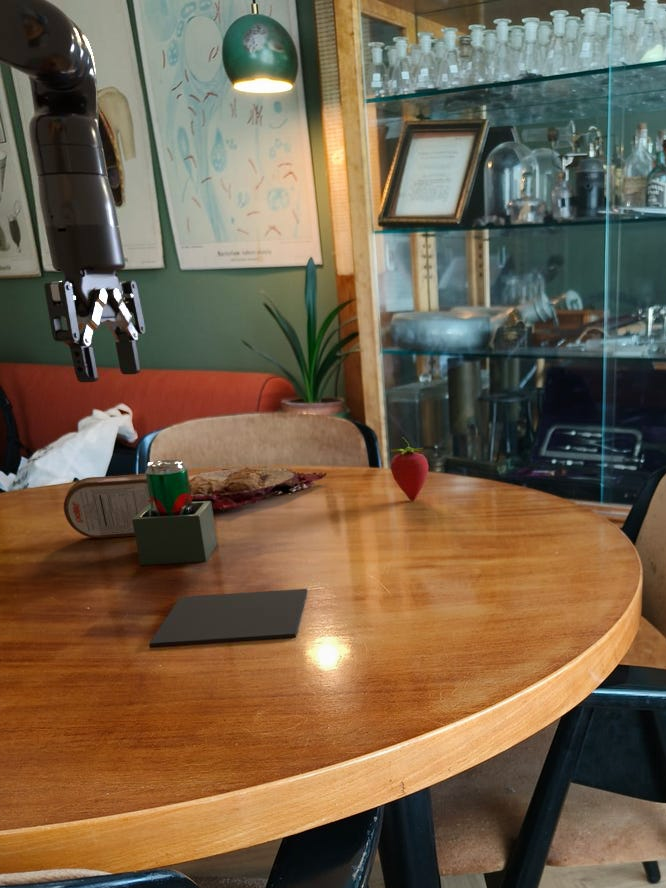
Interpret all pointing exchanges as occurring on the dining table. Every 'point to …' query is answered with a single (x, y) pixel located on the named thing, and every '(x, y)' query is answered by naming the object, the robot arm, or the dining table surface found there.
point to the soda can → (169, 488)
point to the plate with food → (245, 484)
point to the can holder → (175, 536)
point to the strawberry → (409, 470)
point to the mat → (232, 618)
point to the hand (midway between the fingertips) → (110, 377)
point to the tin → (106, 505)
